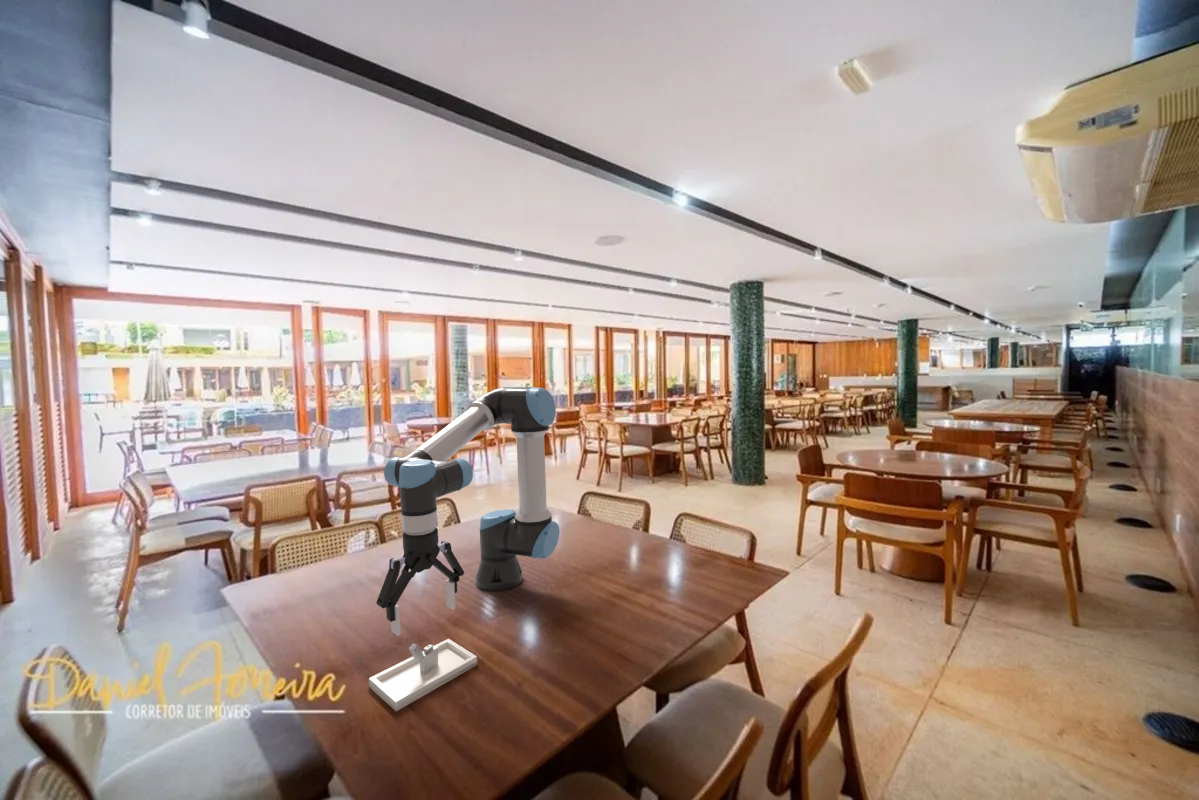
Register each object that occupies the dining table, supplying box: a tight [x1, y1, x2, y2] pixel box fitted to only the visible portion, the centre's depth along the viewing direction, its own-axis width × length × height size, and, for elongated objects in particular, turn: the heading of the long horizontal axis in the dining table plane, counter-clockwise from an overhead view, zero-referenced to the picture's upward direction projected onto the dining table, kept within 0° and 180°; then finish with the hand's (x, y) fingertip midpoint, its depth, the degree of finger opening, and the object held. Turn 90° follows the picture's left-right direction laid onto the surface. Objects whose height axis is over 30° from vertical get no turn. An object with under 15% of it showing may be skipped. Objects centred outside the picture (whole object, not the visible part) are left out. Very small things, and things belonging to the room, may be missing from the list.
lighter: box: [408, 643, 438, 675], centre depth 109 cm, size 7×2×8 cm, turn 153°
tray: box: [368, 638, 478, 712], centre depth 109 cm, size 20×12×2 cm, turn 140°
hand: (424, 619), depth 109 cm, fingers open, 13 cm apart
